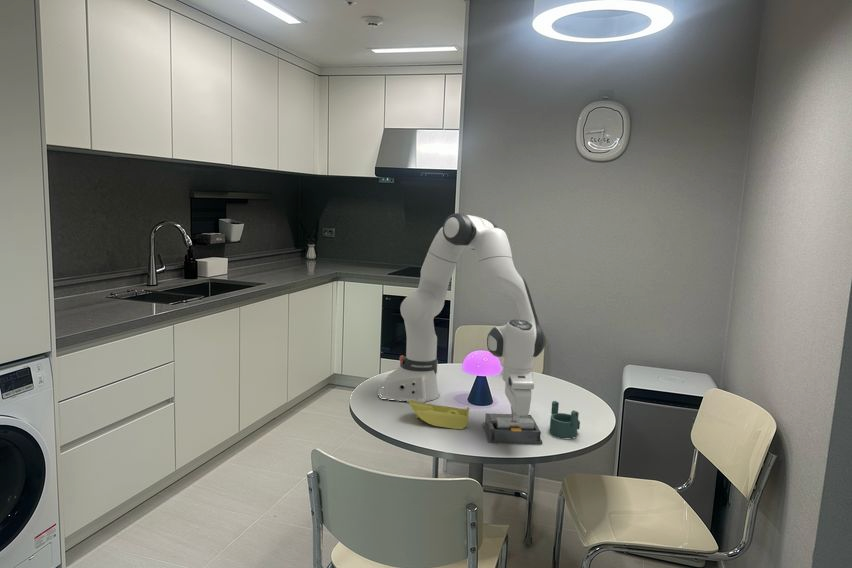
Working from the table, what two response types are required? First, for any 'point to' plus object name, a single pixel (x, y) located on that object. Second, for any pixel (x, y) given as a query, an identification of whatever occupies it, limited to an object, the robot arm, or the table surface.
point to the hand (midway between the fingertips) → (515, 419)
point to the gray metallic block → (514, 424)
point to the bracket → (563, 423)
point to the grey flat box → (510, 431)
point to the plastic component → (441, 415)
